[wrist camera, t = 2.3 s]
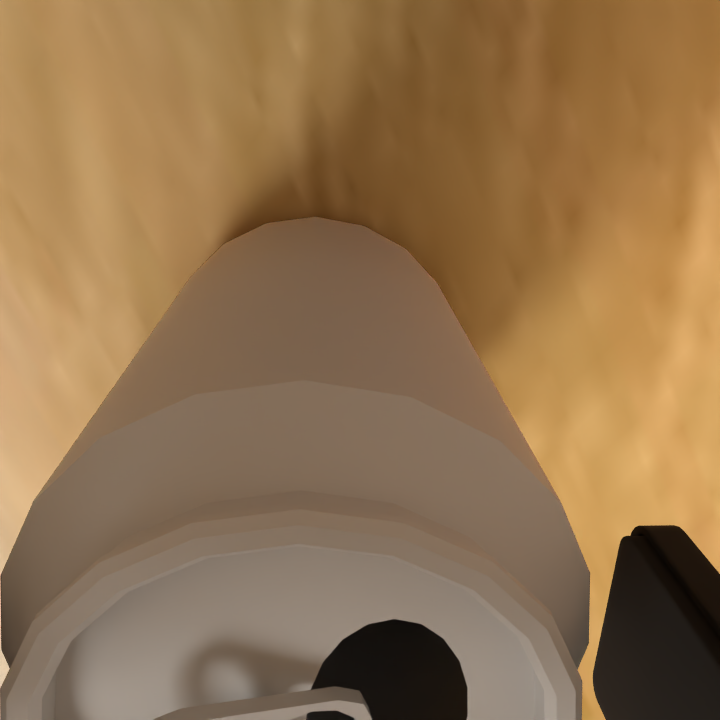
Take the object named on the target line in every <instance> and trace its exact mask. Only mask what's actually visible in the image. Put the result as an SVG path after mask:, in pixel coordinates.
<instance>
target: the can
mask: <svg viewBox="0 0 720 720" xmlns="http://www.w3.org/2000/svg"><path fill="white" fill-rule="evenodd" d="M589 598H590V572H589V570H588V567H587V565H586V562H585V560H584V557H583V555H582V553H581V550H580V548H579V545H578V543H577V540H576V538H575V535H574V533H573V531H572V528H571V526H570V523H569V521H568V518H567V516H566V514H565V511H564V509H563V506H562V504H561V502H560V500H559V498H558V496H557V495H556V493H555V491H554V489H553V488H552V486H551V484H550V482H549V480H548V479H547V477H546V475H545V473H544V472H543V470H542V468H541V466H540V465H539V463H538V461H537V459H536V457H535V456H534V454H533V452H532V450H531V449H530V447H529V445H528V443H527V442H526V440H525V438H524V436H523V434H522V433H521V431H520V429H519V427H518V426H517V424H516V422H515V420H514V418H513V417H512V415H511V413H510V411H509V410H508V408H507V406H506V404H505V403H504V401H503V399H502V397H501V395H500V394H499V392H498V390H497V388H496V387H495V385H494V383H493V381H492V379H491V378H490V376H489V374H488V372H487V371H486V369H485V367H484V365H483V364H482V362H481V360H480V358H479V356H478V355H477V353H476V351H475V349H474V348H473V346H472V344H471V342H470V340H469V339H468V337H467V335H466V333H465V332H464V330H463V328H462V326H461V325H460V323H459V321H458V319H457V317H456V316H455V314H454V312H453V310H452V309H451V307H450V305H449V303H448V302H447V300H446V298H445V296H444V294H443V293H442V291H441V289H440V287H439V286H438V284H437V282H436V281H435V280H434V279H433V278H432V277H431V276H430V275H429V273H428V272H427V271H426V270H425V269H424V268H423V267H422V266H421V265H420V264H419V263H418V261H417V260H416V259H415V258H414V257H413V256H412V255H411V254H410V253H409V252H408V251H407V250H406V249H405V248H404V247H402V246H400V245H398V244H396V243H394V242H393V241H391V240H389V239H387V238H385V237H384V236H382V235H380V234H378V233H376V232H374V231H373V230H371V229H369V228H367V227H365V226H363V225H357V224H352V223H347V222H341V221H336V220H331V219H325V218H320V217H309V218H302V219H294V220H286V221H279V222H271V223H266V224H264V225H262V226H260V227H258V228H256V229H253V230H251V231H249V232H247V233H245V234H243V235H241V236H239V237H237V238H235V239H233V240H231V241H229V242H227V243H225V244H223V245H222V246H221V247H220V248H219V249H218V250H217V251H216V252H215V253H214V254H213V255H212V256H211V257H210V258H209V259H208V260H207V261H206V262H205V263H204V264H203V265H202V266H201V267H200V268H199V269H198V270H197V271H196V272H195V273H194V274H193V275H192V276H191V277H190V278H189V280H188V281H187V282H186V284H185V285H184V287H183V288H182V290H181V291H180V292H179V294H178V295H177V297H176V298H175V300H174V301H173V302H172V304H171V305H170V307H169V308H168V310H167V311H166V312H165V314H164V315H163V317H162V318H161V320H160V321H159V323H158V324H157V325H156V327H155V328H154V330H153V331H152V333H151V334H150V335H149V337H148V338H147V340H146V341H145V343H144V344H143V345H142V347H141V348H140V350H139V351H138V353H137V354H136V355H135V357H134V358H133V360H132V361H131V363H130V364H129V365H128V367H127V368H126V370H125V371H124V373H123V374H122V375H121V377H120V378H119V380H118V381H117V383H116V384H115V385H114V387H113V388H112V390H111V391H110V393H109V394H108V395H107V397H106V398H105V400H104V401H103V403H102V404H101V405H100V407H99V408H98V410H97V411H96V413H95V414H94V415H93V417H92V418H91V420H90V421H89V423H88V424H87V425H86V427H85V428H84V430H83V431H82V433H81V434H80V435H79V437H78V438H77V440H76V441H75V443H74V444H73V445H72V447H71V448H70V450H69V451H68V453H67V454H66V455H65V457H64V458H63V460H62V461H61V463H60V464H59V465H58V467H57V468H56V470H55V471H54V473H53V474H52V476H51V477H50V478H49V480H48V481H47V483H46V484H45V486H44V487H43V488H42V490H41V491H40V493H39V494H38V496H37V497H36V498H35V500H34V501H33V503H32V506H31V508H30V510H29V512H28V515H27V517H26V519H25V521H24V524H23V526H22V528H21V531H20V533H19V535H18V537H17V540H16V542H15V544H14V546H13V549H12V551H11V553H10V555H9V558H8V560H7V562H6V565H5V567H4V569H3V571H2V574H1V650H2V652H3V654H4V656H5V659H6V661H7V663H8V665H9V668H10V670H9V672H8V674H7V676H6V678H5V680H4V682H3V684H2V686H1V688H0V720H582V679H581V677H580V675H579V673H578V670H577V669H578V667H579V665H580V662H581V660H582V658H583V655H584V653H585V651H586V648H587V646H588V644H589Z"/></svg>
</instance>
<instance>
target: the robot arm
mask: <svg viewBox="0 0 720 720" xmlns="http://www.w3.org/2000/svg"><path fill="white" fill-rule="evenodd" d="M593 686H594V691H595V695H596V698H597V701H598V703H599V705H600V708H601V710H602V712H603V714H604V717H605V719H606V720H720V574H719V573H718V571H717V570H716V569H715V568H714V567H713V565H712V564H711V563H710V562H709V561H708V559H707V558H706V557H705V556H704V555H703V553H702V552H701V551H700V550H699V549H698V547H697V546H696V545H695V544H694V543H693V541H692V540H691V539H690V538H689V537H688V535H687V534H686V533H685V532H684V531H683V530H682V529H681V528H680V527H678V526H675V525H669V526H637V527H635V528H634V530H633V531H632V533H631V536H625V537H623V538H622V540H621V542H620V546H619V550H618V555H617V560H616V565H615V570H614V574H613V579H612V584H611V589H610V594H609V599H608V603H607V608H606V613H605V618H604V623H603V627H602V632H601V637H600V642H599V647H598V651H597V656H596V661H595V666H594V671H593Z"/></svg>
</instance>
